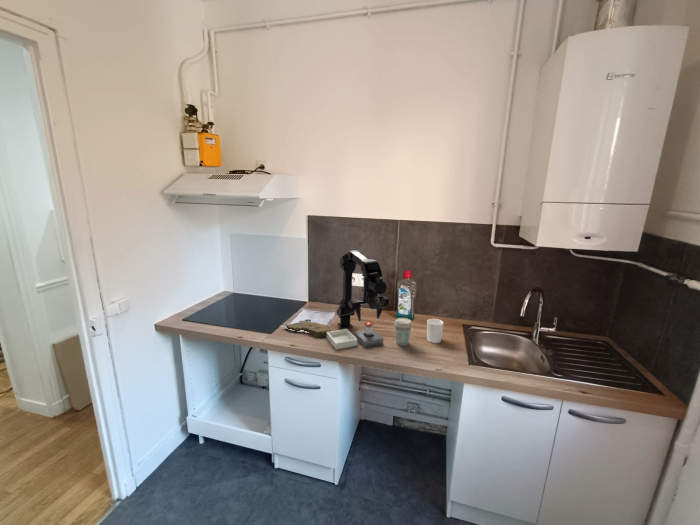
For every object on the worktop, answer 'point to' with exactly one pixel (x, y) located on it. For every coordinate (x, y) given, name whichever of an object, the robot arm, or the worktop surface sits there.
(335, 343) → the parts tray
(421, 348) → the worktop surface
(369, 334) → the grey copper-tipped cylinder
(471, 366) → the worktop surface
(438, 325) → the white cup
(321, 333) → the stone slab
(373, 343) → the block
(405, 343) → the coffee cup
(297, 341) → the worktop surface
